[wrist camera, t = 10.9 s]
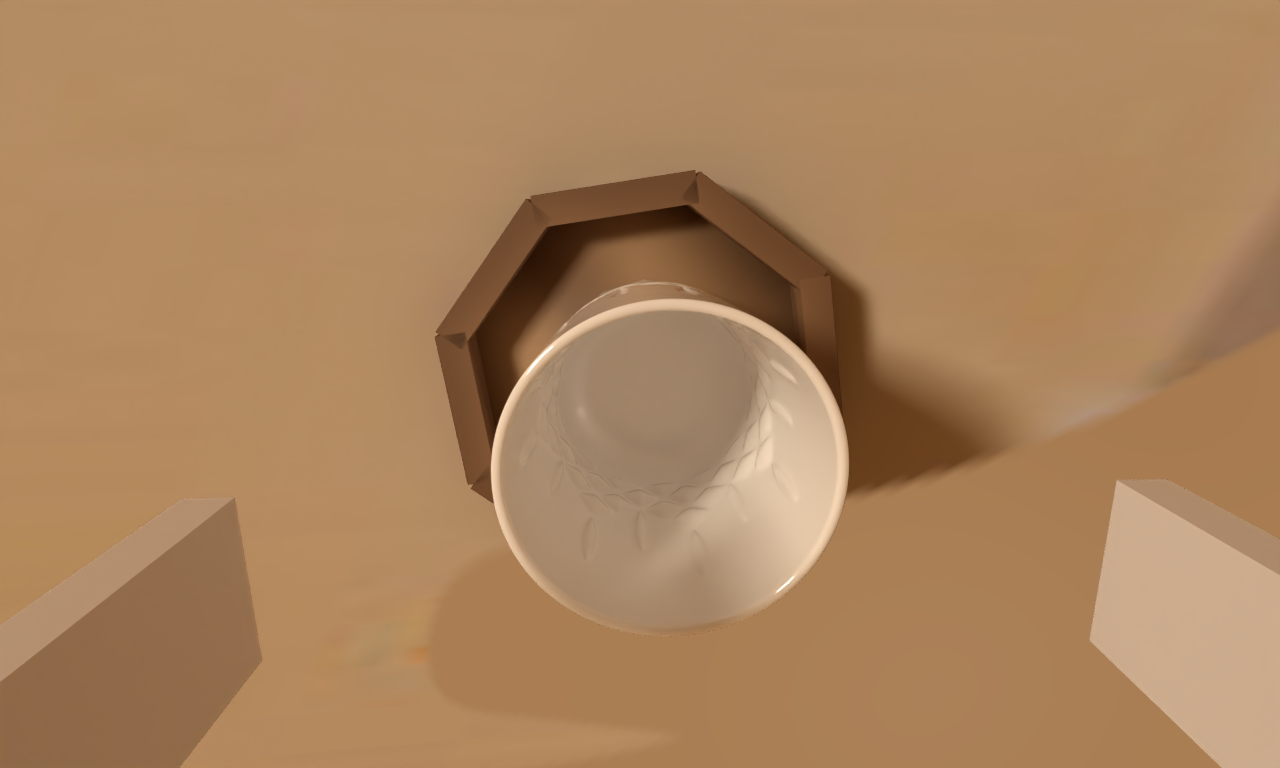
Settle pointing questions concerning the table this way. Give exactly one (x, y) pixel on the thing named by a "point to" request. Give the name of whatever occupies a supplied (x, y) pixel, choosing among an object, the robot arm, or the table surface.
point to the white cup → (669, 462)
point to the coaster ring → (617, 285)
